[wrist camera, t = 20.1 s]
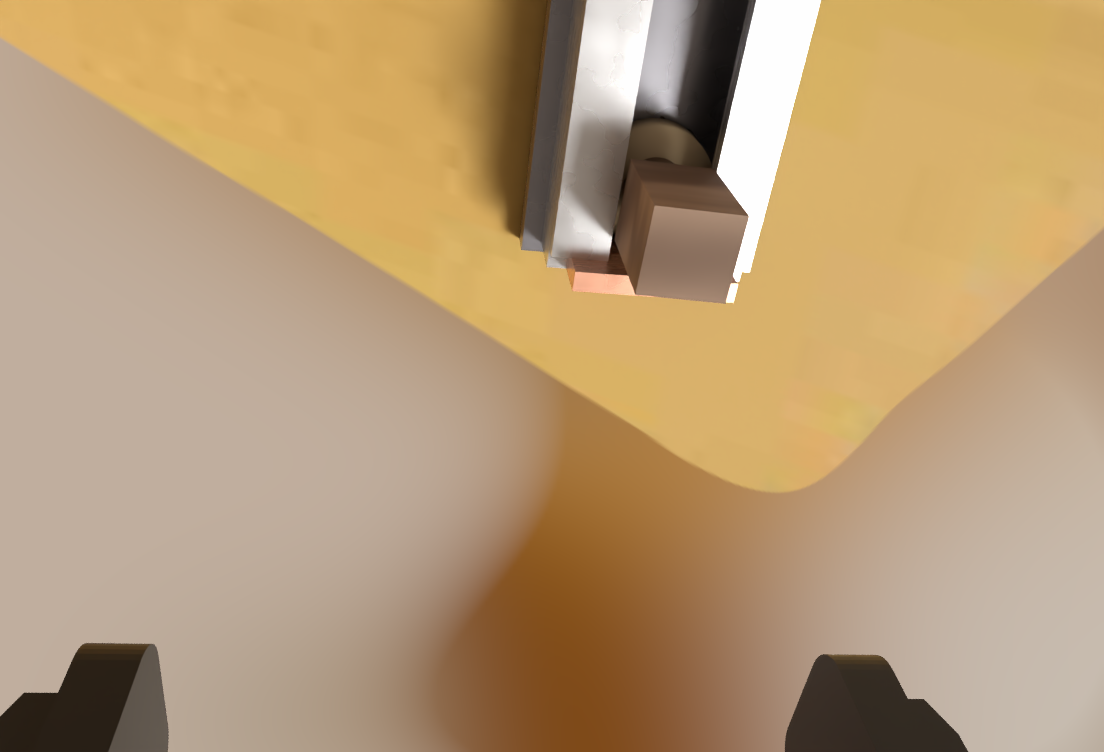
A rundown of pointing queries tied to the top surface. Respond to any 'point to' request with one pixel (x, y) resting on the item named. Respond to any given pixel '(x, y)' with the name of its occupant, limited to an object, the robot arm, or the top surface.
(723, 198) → the headed peg
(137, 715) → the robot arm
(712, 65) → the track
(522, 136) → the top surface
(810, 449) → the top surface
